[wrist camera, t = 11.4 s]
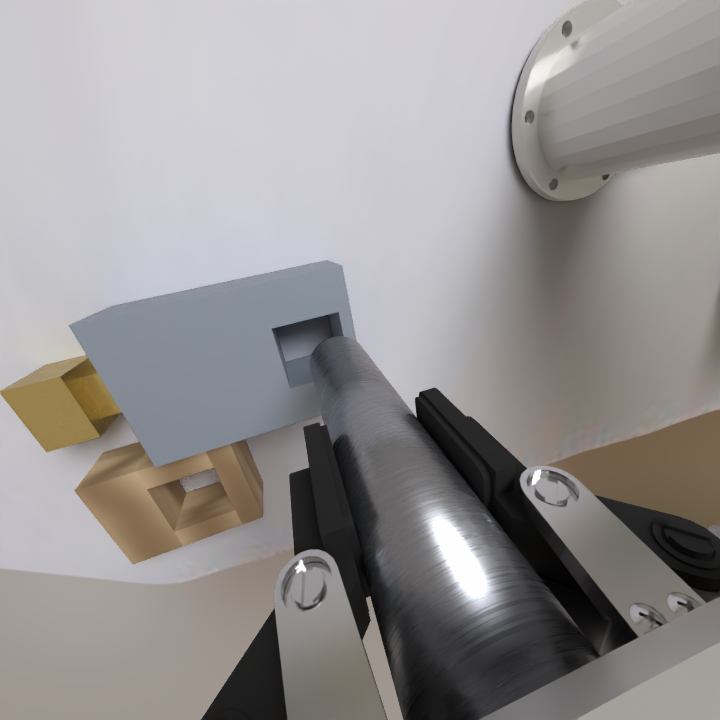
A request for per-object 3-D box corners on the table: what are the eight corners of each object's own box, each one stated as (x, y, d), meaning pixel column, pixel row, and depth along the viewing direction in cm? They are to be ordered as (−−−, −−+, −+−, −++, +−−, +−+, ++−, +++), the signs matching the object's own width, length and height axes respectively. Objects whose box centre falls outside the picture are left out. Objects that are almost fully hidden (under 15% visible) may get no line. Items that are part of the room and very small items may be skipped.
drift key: (241, 318, 23) (237, 333, 19) (259, 369, 25) (258, 391, 21) (45, 365, 20) (-2, 391, 17) (81, 417, 22) (46, 452, 19)
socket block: (326, 260, 23) (341, 265, 19) (350, 374, 27) (367, 400, 23) (111, 306, 20) (68, 325, 16) (175, 425, 24) (155, 467, 20)
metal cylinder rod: (361, 330, 16) (648, 650, 4) (370, 380, 18) (603, 738, 5) (303, 344, 16) (417, 770, 3) (316, 395, 17) (434, 833, 5)
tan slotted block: (234, 413, 25) (229, 442, 22) (262, 482, 29) (262, 516, 25) (103, 452, 23) (74, 490, 20) (150, 521, 27) (133, 564, 23)
